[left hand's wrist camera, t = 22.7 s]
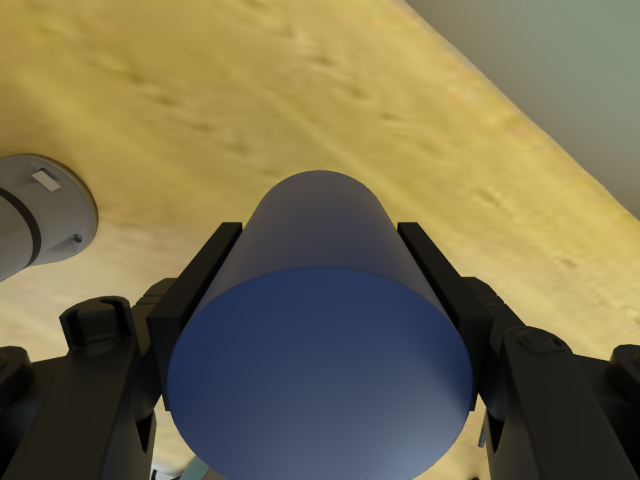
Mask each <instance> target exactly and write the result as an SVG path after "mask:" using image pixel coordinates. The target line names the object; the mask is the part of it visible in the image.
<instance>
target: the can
mask: <svg viewBox="0 0 640 480" xmlns="http://www.w3.org/2000/svg"><path fill="white" fill-rule="evenodd" d="M472 396H473V374H472V366H471V362H470V359H469V355H468V351H467V349H466V347H465V345H464V343H463V341H462V339H461V336H460V335H459V333H458V331H457V330H456V328H455V326H454V325H453V323H452V321H451V320H450V318H449V316H448V315H447V313H446V311H445V310H444V308H443V306H442V305H441V303H440V301H439V300H438V298H437V296H436V295H435V293H434V291H433V290H432V288H431V286H430V285H429V283H428V281H427V280H426V278H425V276H424V275H423V273H422V271H421V270H420V268H419V266H418V265H417V263H416V261H415V260H414V258H413V256H412V255H411V253H410V251H409V250H408V248H407V246H406V245H405V243H404V242H403V240H402V238H401V237H400V235H399V233H398V232H397V230H396V228H395V227H394V225H393V223H392V222H391V220H390V218H389V217H388V215H387V213H386V212H385V210H384V208H383V207H382V205H381V203H380V202H379V200H378V199H377V197H376V196H375V195H374V194H373V193H372V192H371V191H370V190H369V189H368V188H367V187H366V186H364V185H363V184H362V183H360V182H359V181H357V180H356V179H354V178H351V177H349V176H347V175H344V174H341V173H338V172H332V171H322V170H316V171H307V172H303V173H298V174H296V175H293V176H290V177H288V178H286V179H285V180H283V181H281V182H279V183H278V184H277V185H275V186H274V187H273V188H272V189H271V190H270V191H269V192H268V193H267V194H266V195H265V196H264V197H263V199H262V200H261V201H260V203H259V205H258V206H257V208H256V210H255V211H254V213H253V215H252V216H251V218H250V220H249V221H248V223H247V225H246V226H245V228H244V230H243V231H242V233H241V235H240V236H239V238H238V240H237V241H236V243H235V245H234V246H233V248H232V250H231V251H230V253H229V255H228V256H227V258H226V260H225V261H224V263H223V265H222V266H221V268H220V270H219V271H218V273H217V274H216V276H215V278H214V279H213V281H212V283H211V284H210V286H209V288H208V289H207V291H206V293H205V294H204V296H203V298H202V299H201V301H200V303H199V304H198V306H197V308H196V309H195V311H194V313H193V314H192V316H191V318H190V319H189V321H188V323H187V324H186V326H185V328H184V329H183V331H182V333H181V335H180V336H179V338H178V340H177V342H176V343H175V346H174V349H173V351H172V354H171V357H170V360H169V365H168V371H167V398H168V404H169V409H170V412H171V415H172V418H173V421H174V423H175V425H176V427H177V429H178V431H179V433H180V435H181V437H182V438H183V439H184V441H185V442H186V443H187V445H188V446H189V448H190V449H191V450H192V451H193V452H194V453H195V454H196V455H197V456H198V457H199V458H200V460H201V461H203V462H204V463H205V464H206V465H207V466H209V467H210V468H211V469H212V470H214V471H215V472H217V473H218V474H220V475H221V476H223V477H224V478H226V479H227V480H412V479H414V478H415V477H417V476H419V475H420V474H422V473H423V472H424V471H426V470H427V469H428V468H430V467H431V466H432V465H434V464H435V463H436V462H437V461H438V460H439V459H440V458H441V457H442V456H443V455H444V454H445V453H446V452H447V451H448V449H449V448H450V447H451V446H452V445H453V443H454V442H455V440H456V439H457V437H458V436H459V434H460V432H461V431H462V429H463V427H464V424H465V422H466V420H467V417H468V415H469V411H470V407H471V403H472Z"/></svg>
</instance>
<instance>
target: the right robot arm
mask: <svg viewBox="0 0 640 480" xmlns="http://www.w3.org/2000/svg"><path fill="white" fill-rule="evenodd" d="M97 226H98V215H97V209H96V206H95V202H94V200H93V198H92V196H91V194H90V192H89V190H88V189H87V187H86V186H85V185H84V183H83V182H82V181H81V180H80V179H79V178H78V177H77V176H76V175H75V174H74V173H73V172H72V171H70V170H69V169H68V168H66V167H65V166H63V165H62V164H60V163H58V162H56V161H54V160H52V159H49V158H46V157H43V156H38V155H32V154H22V155H15V156H9V157H5V158H2V159H0V282H2V281H3V280H5V279H7V278H9V277H10V276H12V275H14V274H16V273H17V272H19V271H21V270H22V269H24V268H26V267H29V266H35V265H41V264H47V263H52V262H58V261H62V260H65V259H67V258H70V257H72V256H74V255H76V254H78V253H79V252H81V251H82V250H84V249H85V248H86V247H87V246H88V245H89V244H90V243H91V242H92V240H93V238H94V236H95V234H96V231H97Z"/></svg>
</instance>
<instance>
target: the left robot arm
mask: <svg viewBox="0 0 640 480" xmlns="http://www.w3.org/2000/svg"><path fill="white" fill-rule="evenodd" d="M242 231H243V229H242V222H223V223H222V224H221V225H220V226H219V228H218V229H217V230H216V231H215V233H214V234H213V235H212V236H211V237H210V239H209V240H208V241H207V242H206V244H205V245H204V246H203V247H202V249H201V250H200V251H199V252H198V253H197V255H196V256H195V257H194V258H193V260H192V261H191V262H190V263H189V265H188V266H187V267H186V268H185V270H184V271H183V272H182V273H181V274H180V276H179V277H178V278H165V279H163V280H161V281H159V282H158V283H156V284H154V285H153V286H151V287H150V288H149V289H148V291H147V292H146V293H145V294H144V295H143V297H141V298H140V299H139V300H138V301H137V303H136V305H134V306H133V307H132V308H130V303H129V301H128V300H127V299H125V298H124V297H119V296H102V297H97V298H93V299H89V300H86V301H83V302H81V303H78V304H76V305H74V306H72V307H70V308H69V309H67V310H65V311H64V312H63V313H62V314H61V315H60V316H59V319H60V322H61V326H62V329H63V332H64V335H65V338H66V341H67V344H68V347H69V351H68V353H67V355H66V356H63V357H58V358H53V359H48V360H43V361H37V362H32V363H31V361H30V359H29V356H28V353H27V351H26V350H25V349H23V348H22V347H16V346H6V347H0V480H149V478H150V471H151V463H152V456H153V448H154V440H155V433H156V425H157V423H156V416H155V412H154V407H155V405H156V403H157V402H158V400H159V398H160V396H161V394H162V397H163V402H164V406H165V411H170V409H169V404H168V398H167V371H168V365H169V360H170V357H171V354H172V351H173V349H174V346H175V343H176V342H177V340H178V338H179V336H180V335H181V333H182V331H183V329H184V328H185V326H186V324H187V323H188V321H189V319H190V318H191V316H192V314H193V313H194V311H195V309H196V308H197V306H198V304H199V303H200V301H201V299H202V298H203V296H204V294H205V293H206V291H207V289H208V288H209V286H210V284H211V283H212V281H213V279H214V278H215V276H216V274H217V273H218V271H219V270H220V268H221V266H222V265H223V263H224V261H225V260H226V258H227V256H228V255H229V253H230V251H231V250H232V248H233V246H234V245H235V243H236V241H237V240H238V238H239V236H240V235H241V233H242ZM397 232H398V233H399V235H400V237H401V238H402V240H403V242H404V243H405V245H406V246H407V248H408V250H409V251H410V253H411V255H412V256H413V258H414V260H415V261H416V263H417V265H418V266H419V268H420V270H421V271H422V273H423V275H424V276H425V278H426V280H427V281H428V283H429V285H430V286H431V288H432V290H433V291H434V293H435V295H436V296H437V298H438V300H439V301H440V303H441V305H442V306H443V308H444V310H445V311H446V313H447V315H448V316H449V318H450V320H451V321H452V323H453V325H454V326H455V328H456V330H457V331H458V333H459V335H460V336H461V339H462V341H463V343H464V345H465V347H466V349H467V351H468V355H469V359H470V362H471V366H472V374H473V396H472V403H471V407H470V411H474V410H475V405H476V401H477V396H478V393H479V395H480V397H481V398H482V400H483V402H484V404H485V406H486V412H485V416H484V420H483V425H482V429H481V433H480V438H479V444H478V447H481V448H483V446H484V442H485V440H486V447H487V455H488V462H489V470H490V477H491V480H640V346H639V345H632V344H627V345H619V346H618V347H616V348H615V349H614V350H613V353H612V355H611V358H610V361H606V360H601V359H596V358H591V357H585V356H580V355H576V354H573V352H572V350H571V349H570V348H569V346H568V345H567V344H566V343H565V342H564V341H563V340H561V339H560V338H558V337H557V336H556V335H554V334H552V333H549V332H547V331H545V330H542V329H539V328H535V327H531V326H526V325H525V324H524V323H523V322H522V321H521V320H520V319H519V317H518V316H517V315H516V314H515V313H514V312H513V311H512V310H511V309H510V308H509V307H508V306H507V304H504V301H503V300H502V299H501V298H500V297H499V296H497V294H496V293H495V291H494V290H493V289H492V288H491V287H490V286H489V285H488V284H486V283H484V282H483V281H481V280H479V279H477V278H476V277H461V276H460V275H459V274H458V272H457V271H456V270H455V269H454V267H453V266H452V265H451V264H450V262H449V261H448V260H447V259H446V257H445V256H444V255H443V254H442V253H441V251H440V250H439V249H438V248H437V246H436V245H435V244H434V243H433V241H432V240H431V239H430V238H429V237H428V235H427V234H426V233H425V232H424V230H423V229H422V228H421V227H420V225H419V224H418V223H417V222H398V226H397ZM156 473H157V470H155V469H153V472H152V475H151V480H156ZM171 480H227V479H226V478H224V477H223V476H221V475H220V474H218V473H217V472H215V471H214V470H212V469H211V468H210V467H209V466H207V465H206V464H205V463H204V462H203V461H201V460H200V458H199V457H198V456H197V455H196V456H195V457H193V459H192V460H191V461H190V462H189V464H188V465H187V467H186V468H185V470H184V472H183V474H182V475H181V476H178V477H176V478H174V479H171Z"/></svg>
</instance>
